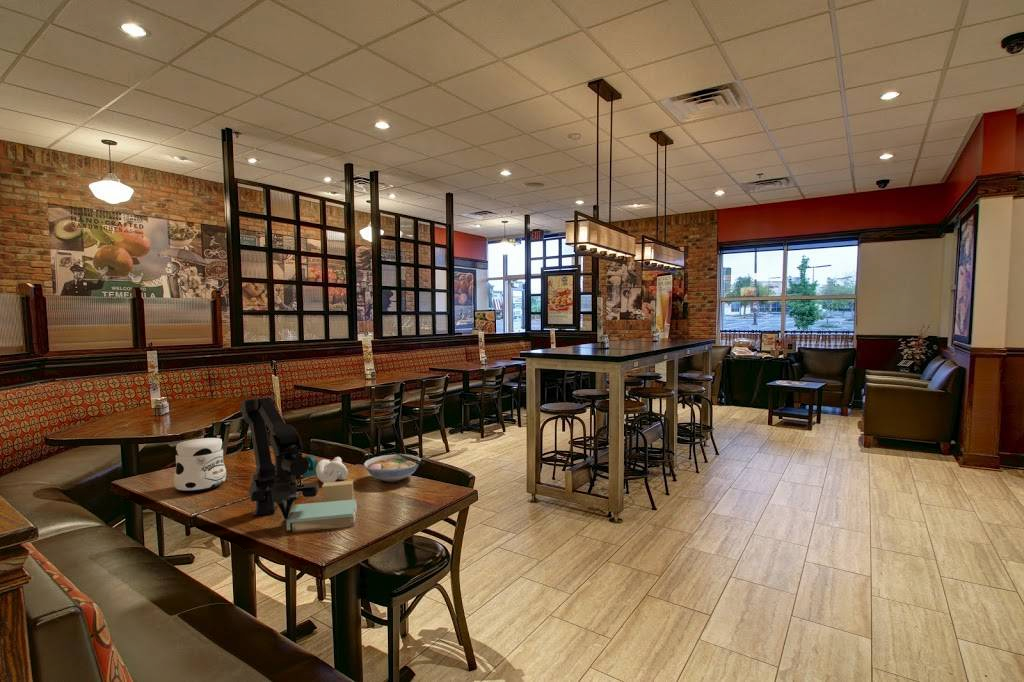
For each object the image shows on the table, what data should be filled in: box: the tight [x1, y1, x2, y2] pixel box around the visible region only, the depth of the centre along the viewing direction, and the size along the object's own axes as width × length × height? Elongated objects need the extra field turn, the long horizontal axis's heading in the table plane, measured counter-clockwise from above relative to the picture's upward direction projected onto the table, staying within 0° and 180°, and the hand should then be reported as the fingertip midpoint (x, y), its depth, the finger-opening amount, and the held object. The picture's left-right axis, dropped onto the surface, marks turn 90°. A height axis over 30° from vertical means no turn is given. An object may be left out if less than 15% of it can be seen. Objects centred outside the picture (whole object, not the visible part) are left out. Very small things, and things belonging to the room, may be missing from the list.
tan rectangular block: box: [321, 480, 354, 502], centre depth 173 cm, size 4×10×7 cm, turn 104°
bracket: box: [302, 454, 318, 479], centre depth 209 cm, size 18×7×8 cm, turn 60°
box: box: [291, 501, 358, 533], centre depth 156 cm, size 13×18×3 cm
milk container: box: [173, 437, 227, 493], centre depth 190 cm, size 17×17×18 cm
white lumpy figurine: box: [316, 456, 349, 484], centre depth 198 cm, size 11×12×9 cm
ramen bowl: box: [363, 451, 426, 483], centre depth 199 cm, size 25×23×8 cm
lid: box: [285, 498, 357, 531], centre depth 156 cm, size 13×19×3 cm
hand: (286, 518), depth 153 cm, fingers closed
